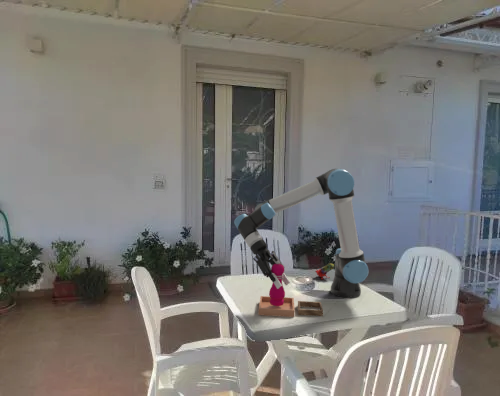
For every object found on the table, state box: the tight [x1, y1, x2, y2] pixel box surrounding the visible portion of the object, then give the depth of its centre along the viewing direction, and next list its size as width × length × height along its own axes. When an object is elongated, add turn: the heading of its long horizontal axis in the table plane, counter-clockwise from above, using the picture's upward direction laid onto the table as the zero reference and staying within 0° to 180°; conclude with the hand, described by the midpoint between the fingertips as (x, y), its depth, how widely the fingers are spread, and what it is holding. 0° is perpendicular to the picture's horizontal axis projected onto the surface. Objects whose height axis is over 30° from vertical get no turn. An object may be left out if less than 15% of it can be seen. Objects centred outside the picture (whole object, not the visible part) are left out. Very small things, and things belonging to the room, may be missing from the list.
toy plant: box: [315, 262, 335, 280], centre depth 227 cm, size 8×10×12 cm
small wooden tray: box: [297, 300, 324, 317], centre depth 178 cm, size 11×11×2 cm
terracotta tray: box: [257, 295, 295, 318], centre depth 179 cm, size 16×16×3 cm
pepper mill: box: [268, 260, 286, 306], centre depth 178 cm, size 7×7×20 cm
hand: (283, 285), depth 176 cm, fingers closed on pepper mill, 6 cm apart
